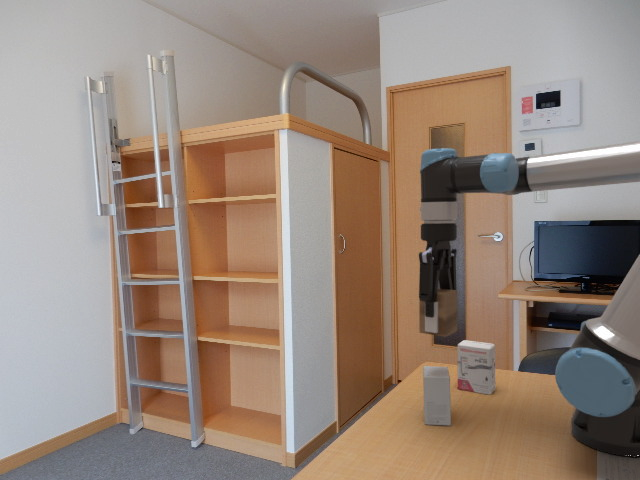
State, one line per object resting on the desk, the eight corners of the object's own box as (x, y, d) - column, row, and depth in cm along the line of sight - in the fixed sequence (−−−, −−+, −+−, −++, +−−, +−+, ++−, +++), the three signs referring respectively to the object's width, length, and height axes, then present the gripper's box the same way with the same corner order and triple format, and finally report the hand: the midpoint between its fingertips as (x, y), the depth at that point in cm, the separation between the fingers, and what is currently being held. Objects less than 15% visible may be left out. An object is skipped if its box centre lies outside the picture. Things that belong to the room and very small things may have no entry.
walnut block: (457, 331, 103) (457, 290, 102) (445, 336, 98) (445, 294, 98) (432, 327, 106) (432, 287, 106) (419, 332, 102) (419, 291, 101)
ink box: (456, 389, 122) (455, 343, 121) (462, 383, 126) (461, 339, 125) (490, 395, 117) (490, 348, 116) (496, 389, 121) (495, 343, 120)
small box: (451, 426, 100) (450, 377, 99) (424, 425, 101) (423, 376, 101) (448, 411, 108) (448, 366, 107) (423, 410, 109) (422, 365, 108)
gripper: (441, 221, 111) (441, 318, 112) (400, 223, 96) (401, 335, 97) (472, 221, 106) (472, 322, 107) (434, 223, 91) (434, 340, 93)
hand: (438, 328), depth 102 cm, fingers closed on walnut block, 6 cm apart
